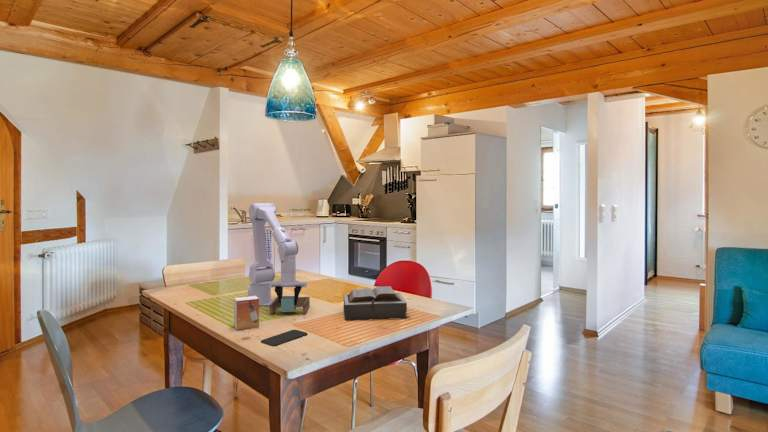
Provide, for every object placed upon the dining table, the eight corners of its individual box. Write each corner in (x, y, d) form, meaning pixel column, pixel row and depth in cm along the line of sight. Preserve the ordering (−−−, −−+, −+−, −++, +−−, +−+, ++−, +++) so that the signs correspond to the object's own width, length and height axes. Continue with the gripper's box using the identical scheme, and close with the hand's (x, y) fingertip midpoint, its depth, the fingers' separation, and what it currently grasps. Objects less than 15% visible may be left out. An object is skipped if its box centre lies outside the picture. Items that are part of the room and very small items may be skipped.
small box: (236, 330, 153) (235, 300, 152) (233, 326, 158) (233, 297, 157) (259, 327, 156) (259, 298, 156) (256, 323, 161) (256, 295, 161)
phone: (258, 340, 141) (294, 329, 153) (259, 343, 141) (294, 331, 153) (273, 345, 137) (309, 333, 149) (273, 348, 137) (309, 335, 149)
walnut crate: (269, 315, 172) (269, 305, 172) (276, 306, 186) (276, 297, 185) (305, 314, 173) (305, 304, 173) (309, 306, 186) (309, 296, 186)
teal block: (281, 311, 172) (281, 298, 172) (283, 308, 177) (283, 296, 177) (293, 311, 172) (293, 298, 172) (295, 308, 177) (295, 295, 177)
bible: (406, 323, 163) (406, 297, 163) (335, 321, 165) (335, 295, 165) (407, 307, 187) (407, 284, 186) (345, 305, 189) (345, 283, 188)
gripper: (267, 273, 169) (268, 307, 170) (305, 273, 170) (305, 307, 171) (271, 270, 177) (271, 303, 177) (307, 269, 177) (307, 302, 178)
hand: (288, 304), depth 174 cm, fingers closed on teal block, 5 cm apart
